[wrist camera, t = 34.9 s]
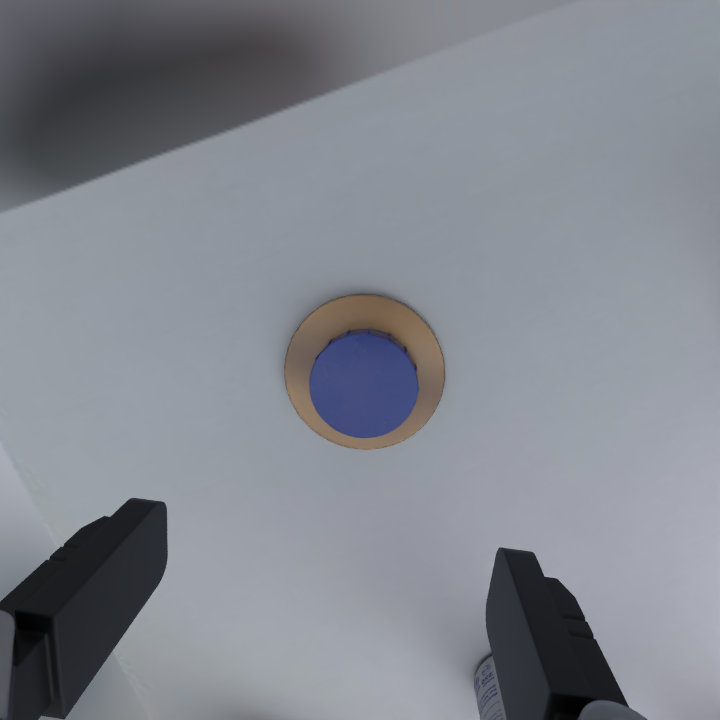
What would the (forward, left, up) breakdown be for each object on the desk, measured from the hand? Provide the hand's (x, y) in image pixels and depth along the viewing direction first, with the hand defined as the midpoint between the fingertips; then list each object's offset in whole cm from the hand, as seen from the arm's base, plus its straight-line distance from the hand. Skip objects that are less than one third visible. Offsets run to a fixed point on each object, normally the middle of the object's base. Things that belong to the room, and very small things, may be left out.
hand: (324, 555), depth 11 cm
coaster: (0, 0, -16) cm, 16 cm away
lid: (0, 0, -14) cm, 14 cm away
